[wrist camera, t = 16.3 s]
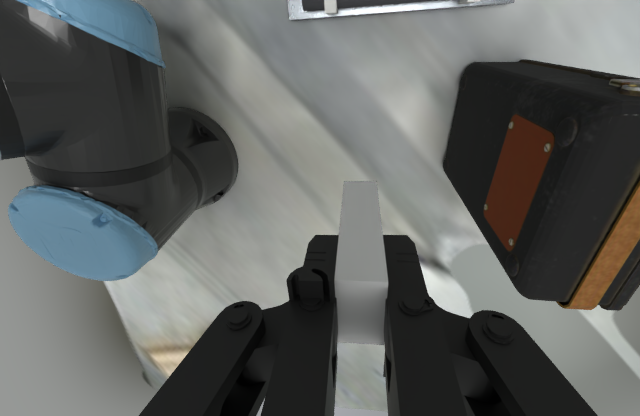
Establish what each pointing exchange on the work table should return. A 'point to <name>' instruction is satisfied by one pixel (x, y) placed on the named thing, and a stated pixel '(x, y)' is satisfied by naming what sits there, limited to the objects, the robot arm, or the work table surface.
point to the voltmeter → (552, 177)
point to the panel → (383, 8)
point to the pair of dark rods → (357, 4)
